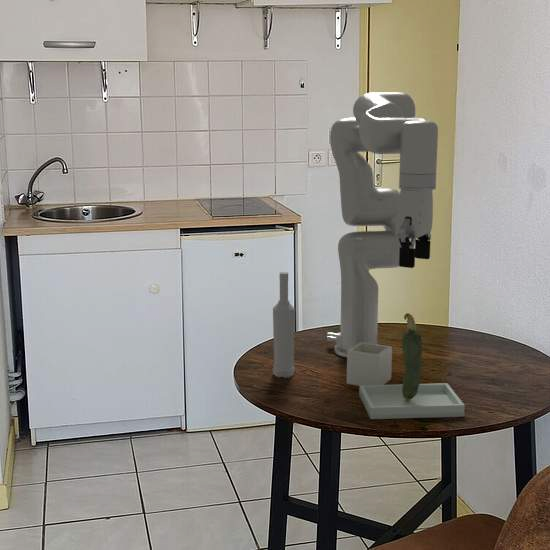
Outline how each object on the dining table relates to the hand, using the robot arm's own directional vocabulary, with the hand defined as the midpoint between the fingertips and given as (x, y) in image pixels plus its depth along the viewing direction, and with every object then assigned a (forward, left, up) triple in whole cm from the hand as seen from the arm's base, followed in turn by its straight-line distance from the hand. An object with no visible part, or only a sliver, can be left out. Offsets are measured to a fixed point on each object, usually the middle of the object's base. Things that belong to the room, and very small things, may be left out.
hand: (414, 262), depth 192 cm
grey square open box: (-14, +11, -32) cm, 36 cm away
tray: (0, 0, -32) cm, 32 cm away
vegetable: (0, 0, -31) cm, 31 cm away
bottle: (-34, +6, -32) cm, 47 cm away
